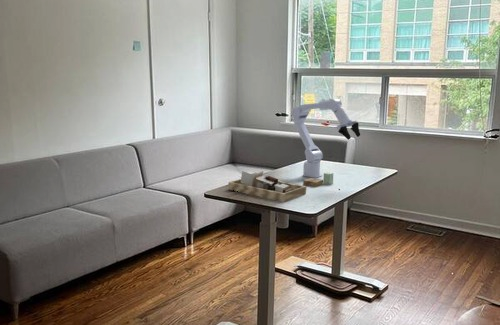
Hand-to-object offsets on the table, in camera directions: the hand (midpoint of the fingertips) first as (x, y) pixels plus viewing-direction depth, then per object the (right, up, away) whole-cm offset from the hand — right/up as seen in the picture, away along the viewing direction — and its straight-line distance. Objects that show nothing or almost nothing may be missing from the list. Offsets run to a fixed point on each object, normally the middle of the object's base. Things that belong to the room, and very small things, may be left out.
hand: (354, 137), depth 265 cm
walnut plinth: (-22, -27, +4) cm, 35 cm away
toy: (-49, -30, -13) cm, 59 cm away
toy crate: (-49, -29, -13) cm, 59 cm away
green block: (-13, -26, +7) cm, 30 cm away
